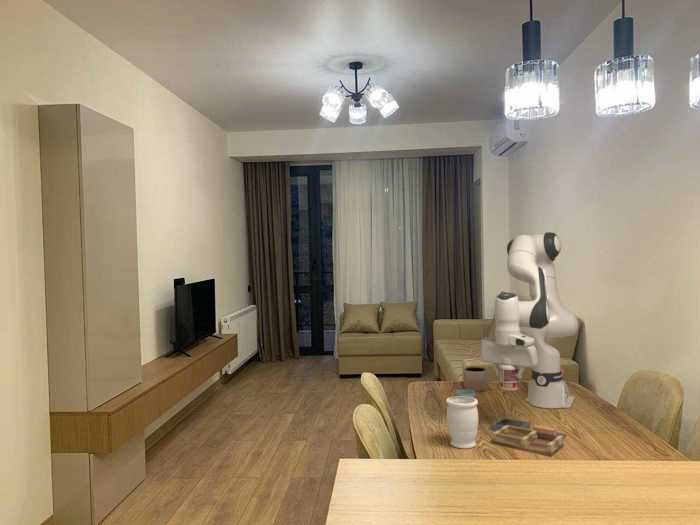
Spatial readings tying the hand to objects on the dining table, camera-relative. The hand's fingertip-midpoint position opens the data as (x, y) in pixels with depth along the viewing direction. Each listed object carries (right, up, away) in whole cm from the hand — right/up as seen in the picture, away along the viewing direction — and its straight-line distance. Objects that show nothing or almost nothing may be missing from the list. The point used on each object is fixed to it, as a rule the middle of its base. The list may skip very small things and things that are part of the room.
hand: (509, 376), depth 189 cm
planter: (+2, -19, +59) cm, 62 cm away
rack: (+1, -19, -16) cm, 25 cm away
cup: (-12, -20, +15) cm, 27 cm away
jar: (-19, -20, -13) cm, 31 cm away
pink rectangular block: (+9, -19, -12) cm, 24 cm away
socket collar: (+1, -19, +1) cm, 19 cm away
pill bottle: (0, -5, 0) cm, 5 cm away
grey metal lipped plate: (+11, -19, -9) cm, 24 cm away
